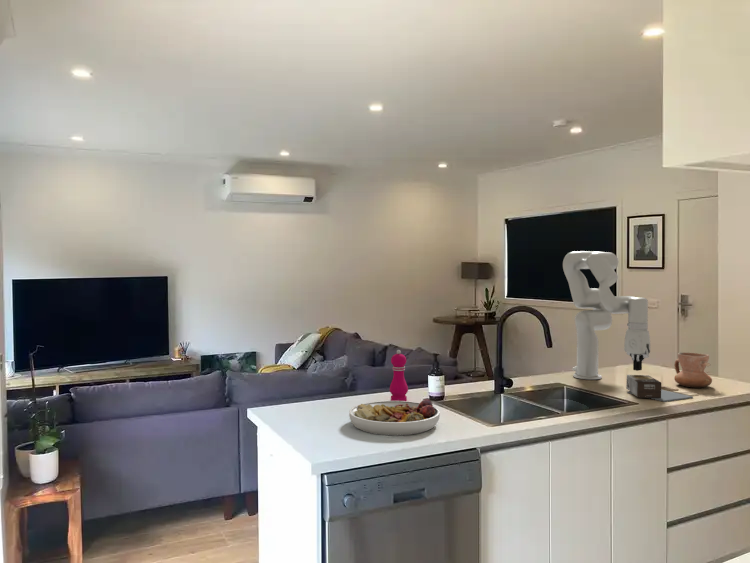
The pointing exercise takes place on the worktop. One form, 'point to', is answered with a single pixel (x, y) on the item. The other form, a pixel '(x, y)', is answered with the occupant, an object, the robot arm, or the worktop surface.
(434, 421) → the bowl
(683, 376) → the ceramic jug
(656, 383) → the coffee box
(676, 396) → the mat
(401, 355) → the pepper mill
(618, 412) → the worktop surface
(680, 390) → the turner
